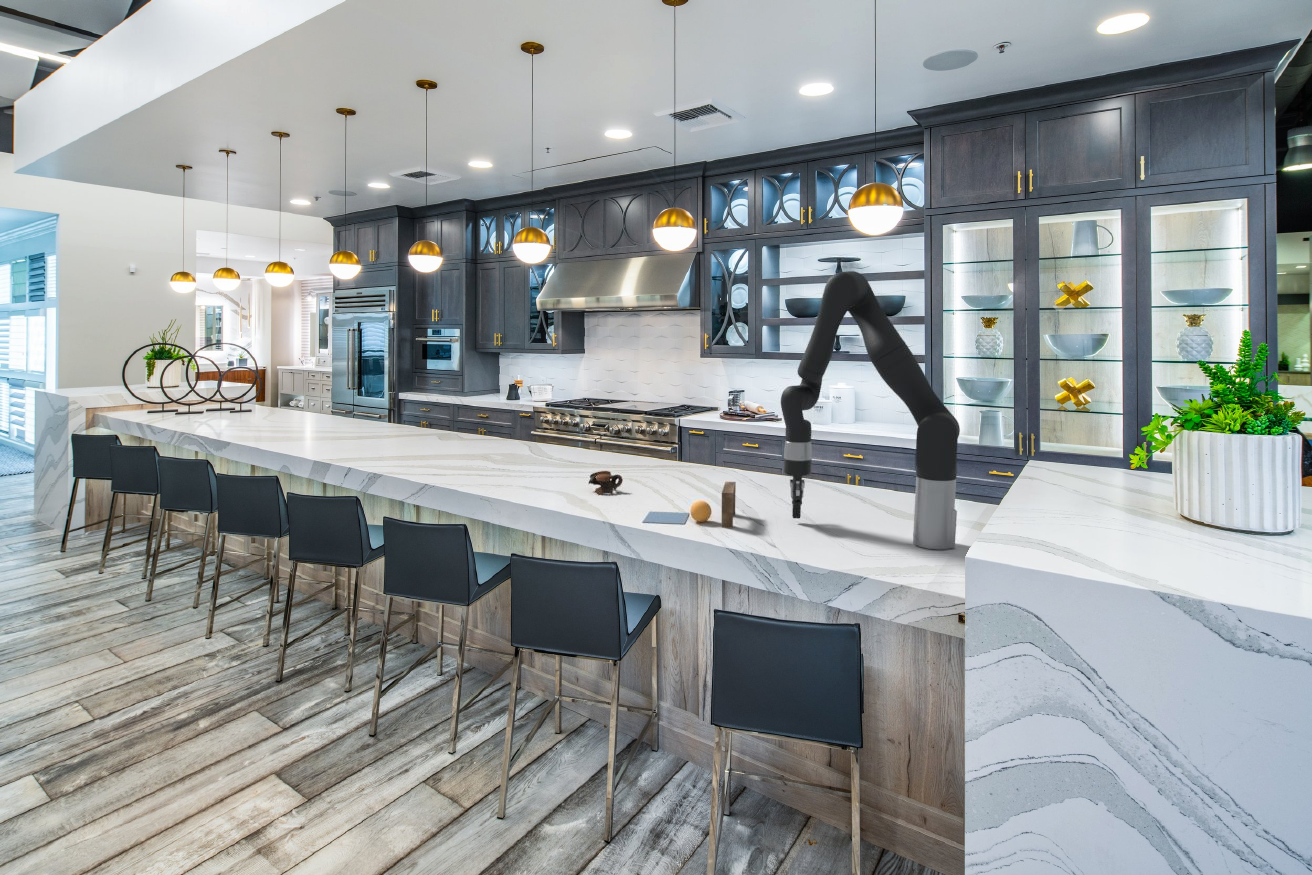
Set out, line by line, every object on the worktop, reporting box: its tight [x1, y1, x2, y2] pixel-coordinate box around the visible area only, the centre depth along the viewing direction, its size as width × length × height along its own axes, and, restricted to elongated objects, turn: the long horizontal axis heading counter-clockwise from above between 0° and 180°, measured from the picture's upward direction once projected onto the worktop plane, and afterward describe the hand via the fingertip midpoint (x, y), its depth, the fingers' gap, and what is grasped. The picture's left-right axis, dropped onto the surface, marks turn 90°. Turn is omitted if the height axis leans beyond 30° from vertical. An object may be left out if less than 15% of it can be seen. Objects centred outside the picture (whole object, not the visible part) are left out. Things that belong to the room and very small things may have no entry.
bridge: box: [721, 481, 737, 528], centre depth 195 cm, size 3×15×10 cm, turn 171°
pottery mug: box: [588, 470, 624, 495], centre depth 234 cm, size 12×10×8 cm
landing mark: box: [641, 510, 690, 525], centre depth 199 cm, size 12×12×1 cm
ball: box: [689, 500, 712, 523], centre depth 194 cm, size 6×6×6 cm
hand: (796, 517), depth 193 cm, fingers closed
